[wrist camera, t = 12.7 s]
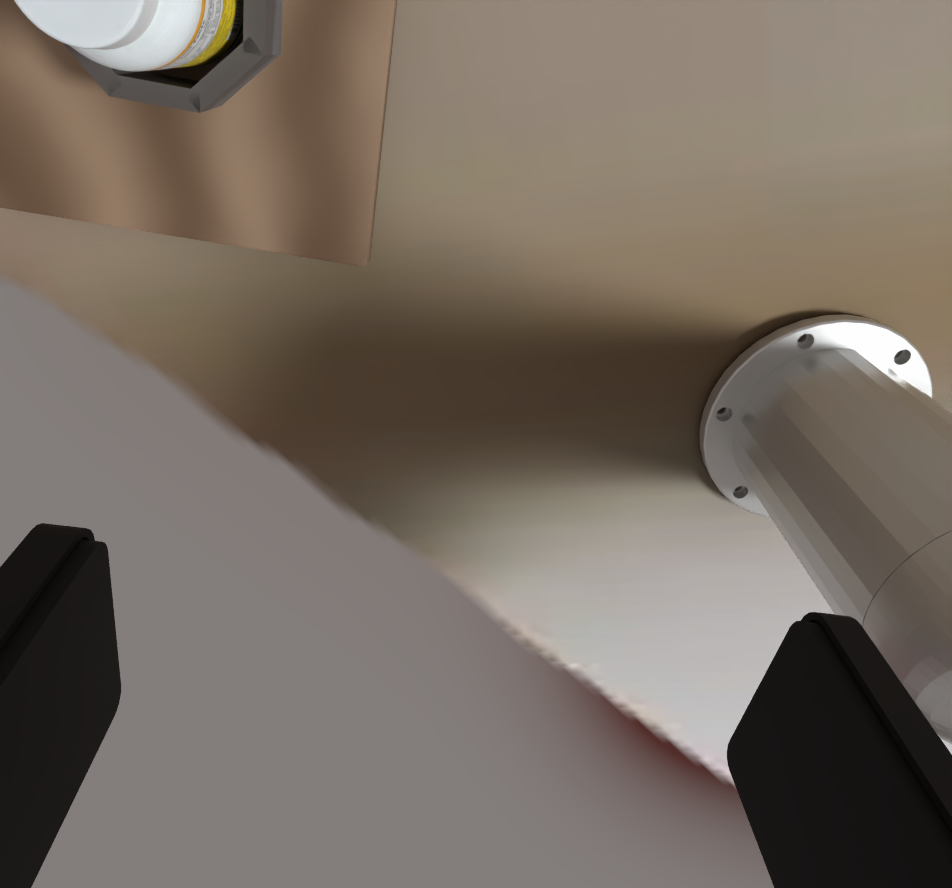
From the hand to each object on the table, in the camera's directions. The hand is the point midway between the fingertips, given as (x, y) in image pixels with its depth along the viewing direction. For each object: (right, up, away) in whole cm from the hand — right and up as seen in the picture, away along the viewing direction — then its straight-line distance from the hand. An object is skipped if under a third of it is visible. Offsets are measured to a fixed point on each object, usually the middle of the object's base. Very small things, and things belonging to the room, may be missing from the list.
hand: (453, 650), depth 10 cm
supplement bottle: (-11, +21, +19) cm, 30 cm away
